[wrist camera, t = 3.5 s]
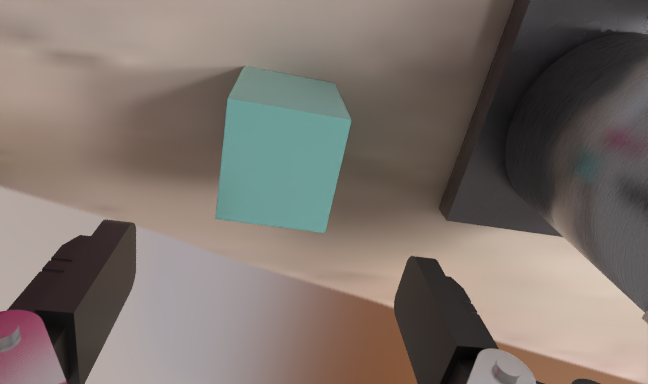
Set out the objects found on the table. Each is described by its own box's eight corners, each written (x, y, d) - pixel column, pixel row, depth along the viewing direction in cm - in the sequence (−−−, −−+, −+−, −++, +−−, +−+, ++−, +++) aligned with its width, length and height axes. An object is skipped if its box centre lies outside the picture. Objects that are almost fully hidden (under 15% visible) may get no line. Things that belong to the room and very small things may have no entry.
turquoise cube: (244, 65, 22) (227, 98, 16) (334, 82, 23) (351, 120, 17) (233, 159, 25) (215, 218, 19) (316, 171, 26) (325, 233, 19)
